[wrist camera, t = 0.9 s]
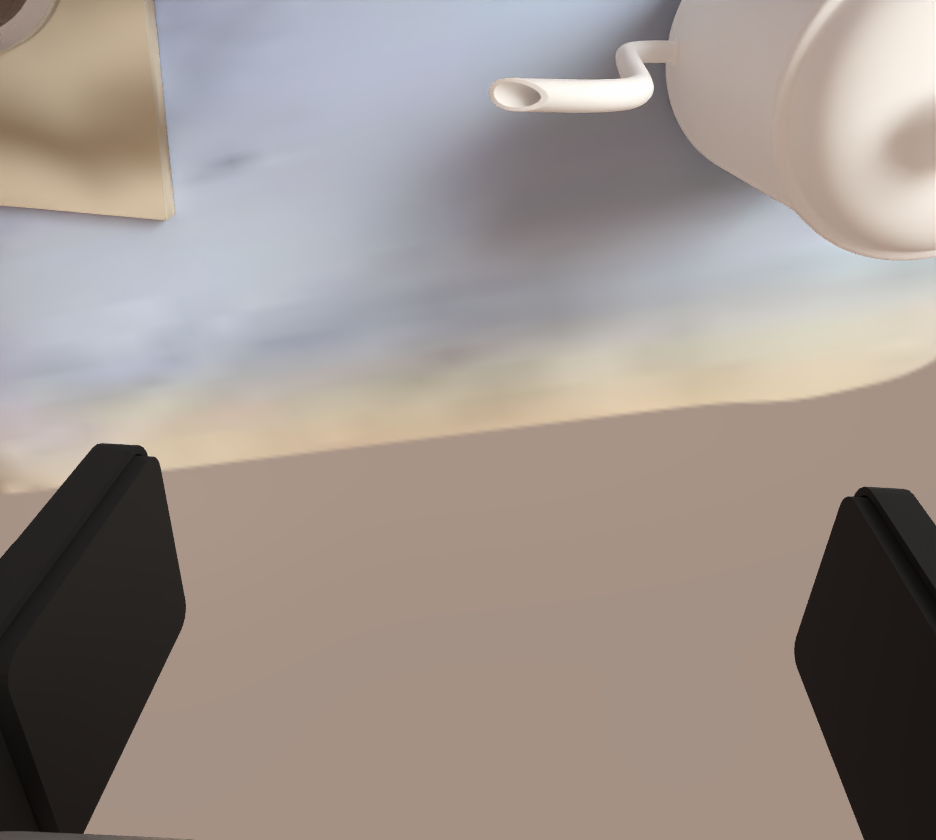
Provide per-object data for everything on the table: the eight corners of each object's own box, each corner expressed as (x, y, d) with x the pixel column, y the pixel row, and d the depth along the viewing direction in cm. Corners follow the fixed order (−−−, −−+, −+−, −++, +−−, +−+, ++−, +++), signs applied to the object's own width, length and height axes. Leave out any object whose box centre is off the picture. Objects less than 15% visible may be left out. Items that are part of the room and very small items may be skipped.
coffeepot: (502, -103, 34) (498, -155, 18) (1104, -82, 34) (1660, -115, 18) (490, 161, 40) (479, 306, 23) (1009, 183, 39) (1367, 347, 23)
